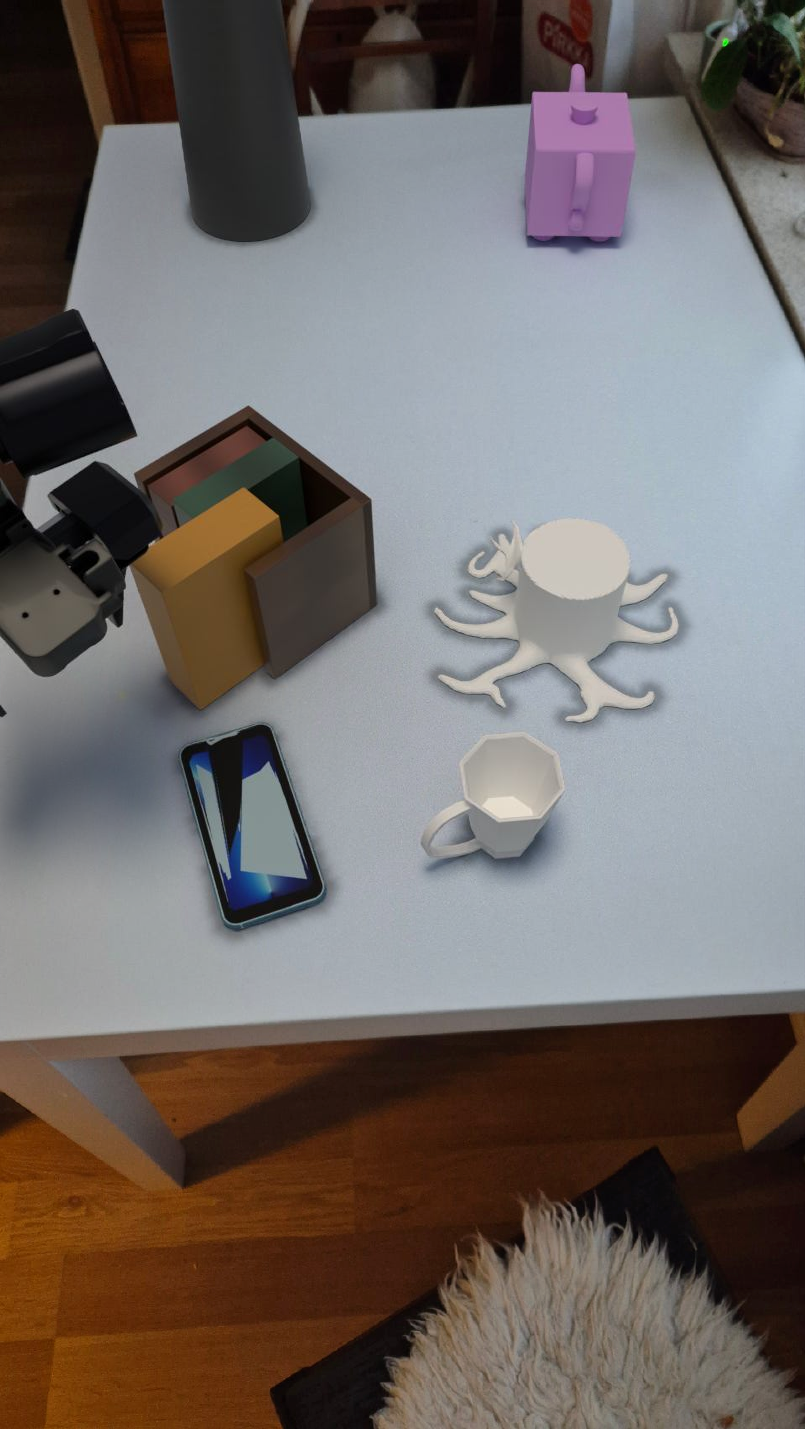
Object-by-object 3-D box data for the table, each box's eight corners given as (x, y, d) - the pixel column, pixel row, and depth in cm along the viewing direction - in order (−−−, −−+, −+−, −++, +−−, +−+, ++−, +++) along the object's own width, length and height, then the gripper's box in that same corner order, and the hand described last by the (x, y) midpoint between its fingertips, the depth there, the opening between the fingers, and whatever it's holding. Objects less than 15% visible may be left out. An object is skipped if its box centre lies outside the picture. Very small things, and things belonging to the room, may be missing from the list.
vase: (208, 172, 120) (155, -131, 96) (320, 179, 119) (295, -126, 95) (178, 237, 113) (113, -73, 89) (297, 245, 112) (264, -67, 88)
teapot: (620, 264, 109) (641, 145, 99) (526, 262, 109) (537, 144, 99) (607, 165, 120) (626, 49, 110) (522, 164, 120) (532, 48, 110)
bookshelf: (274, 679, 79) (251, 569, 68) (166, 579, 85) (129, 463, 74) (377, 604, 83) (371, 488, 72) (267, 513, 89) (246, 394, 78)
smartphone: (224, 930, 67) (174, 747, 75) (226, 935, 68) (177, 753, 75) (330, 895, 68) (270, 718, 76) (331, 900, 69) (272, 725, 77)
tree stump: (521, 505, 89) (529, 434, 83) (722, 601, 83) (749, 532, 76) (389, 654, 80) (386, 587, 74) (603, 774, 74) (621, 714, 67)
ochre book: (200, 711, 78) (161, 592, 66) (169, 680, 79) (126, 560, 68) (299, 639, 81) (279, 515, 70) (268, 611, 83) (243, 486, 71)
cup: (572, 849, 71) (588, 794, 64) (448, 913, 68) (451, 862, 62) (519, 773, 74) (529, 713, 68) (399, 831, 72) (397, 775, 65)
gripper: (-137, 700, 45) (8, 842, 59) (182, 468, 51) (248, 645, 65) (-245, 573, 50) (-88, 731, 63) (59, 374, 56) (144, 557, 69)
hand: (60, 666), depth 65 cm, fingers open, 9 cm apart
